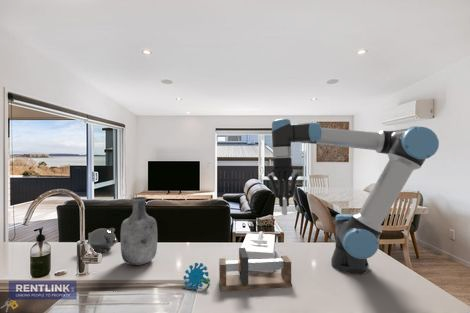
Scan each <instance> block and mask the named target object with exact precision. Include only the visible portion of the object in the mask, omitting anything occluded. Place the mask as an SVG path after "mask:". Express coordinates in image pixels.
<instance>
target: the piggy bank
mask: <svg viewBox="0 0 470 313" xmlns="http://www.w3.org/2000/svg"><path fill="white" fill-rule="evenodd" d="M115 231H116V228H114V227H110V228H97V229H95V230H92V232H88V234H87V235H88V244H89V247H90V248H91V249H92V248H93V249H94V251H95V252H97V253H98V252H99V251H101V253H102V254H106V253H107V250H108V251H109V250H111V249H112V247H114V246H115V245H116V244H117V243H118V242H119V241H118V238H117V237H116V234H115V233H114V232H115ZM93 249H92V250H93Z"/></svg>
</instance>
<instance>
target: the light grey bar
mask: <svg viewBox="0 0 470 313" xmlns="http://www.w3.org/2000/svg"><path fill="white" fill-rule="evenodd" d="M272 269H274V270H281V269H284V260H283V259H282V258H281V257H279V258H275V257H274V259H251V260H248V272H249V271H250V270H272ZM228 272H238V273H239V272H241V259H239V258H238V259H232V260H227V259H226V273H228ZM250 272H251V271H250Z"/></svg>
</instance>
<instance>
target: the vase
mask: <svg viewBox="0 0 470 313" xmlns="http://www.w3.org/2000/svg"><path fill="white" fill-rule="evenodd" d="M147 199H148V197H146V196H136V197H135V196H134V197H131V199H130V202H132V203H131V204H132V212H131V214H130V215H129V217H127V218H125V219H124V220H123V221H122V223H121V225H120V252H121V257H122V260H123V262H124V263H126V264H128V265H132V266H139V265H140V266H141V265H144V264H147V263H149V262H151V261H152V260H154V258H155V256H156V255H157V250H158V223H157V220H156V218H154V217H153V216H150V215H149V214H148V213H147V211H146V201H147Z"/></svg>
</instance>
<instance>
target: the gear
mask: <svg viewBox="0 0 470 313" xmlns="http://www.w3.org/2000/svg"><path fill="white" fill-rule="evenodd" d="M188 267H189V270H188V269H186V270H185V271H184V273H185V274H186V275H184V276H183V280H184V285H185V286H187V288H188V290H192V289H193V290H194V291H195V290H198V287H199V288H202V287H203V286H204V285H203V284H205V285H208V286H210V285H211V283H210V282H211V279H210V278H208V276H209V271H208V267H207V266H206V265H205V266H204V263H202V262H201V263H200V264H199V263H198V262H194V266H193V264H189V266H188ZM204 271H205V272H204ZM187 275H188V276H187ZM204 275H205V276H206V277H207V278H206V277H204ZM186 280H188V281H186Z"/></svg>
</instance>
